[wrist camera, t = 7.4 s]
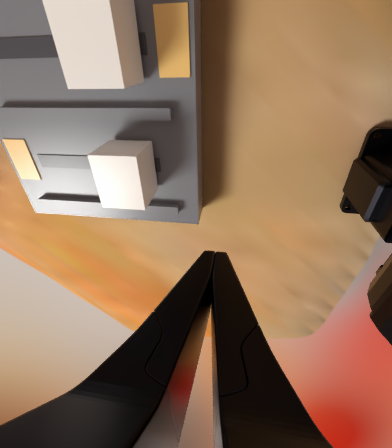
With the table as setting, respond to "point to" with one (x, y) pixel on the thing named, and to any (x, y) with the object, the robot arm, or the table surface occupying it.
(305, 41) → the table surface
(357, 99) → the table surface
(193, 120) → the switch bank
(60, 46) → the tab
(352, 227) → the table surface
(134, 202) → the tab
